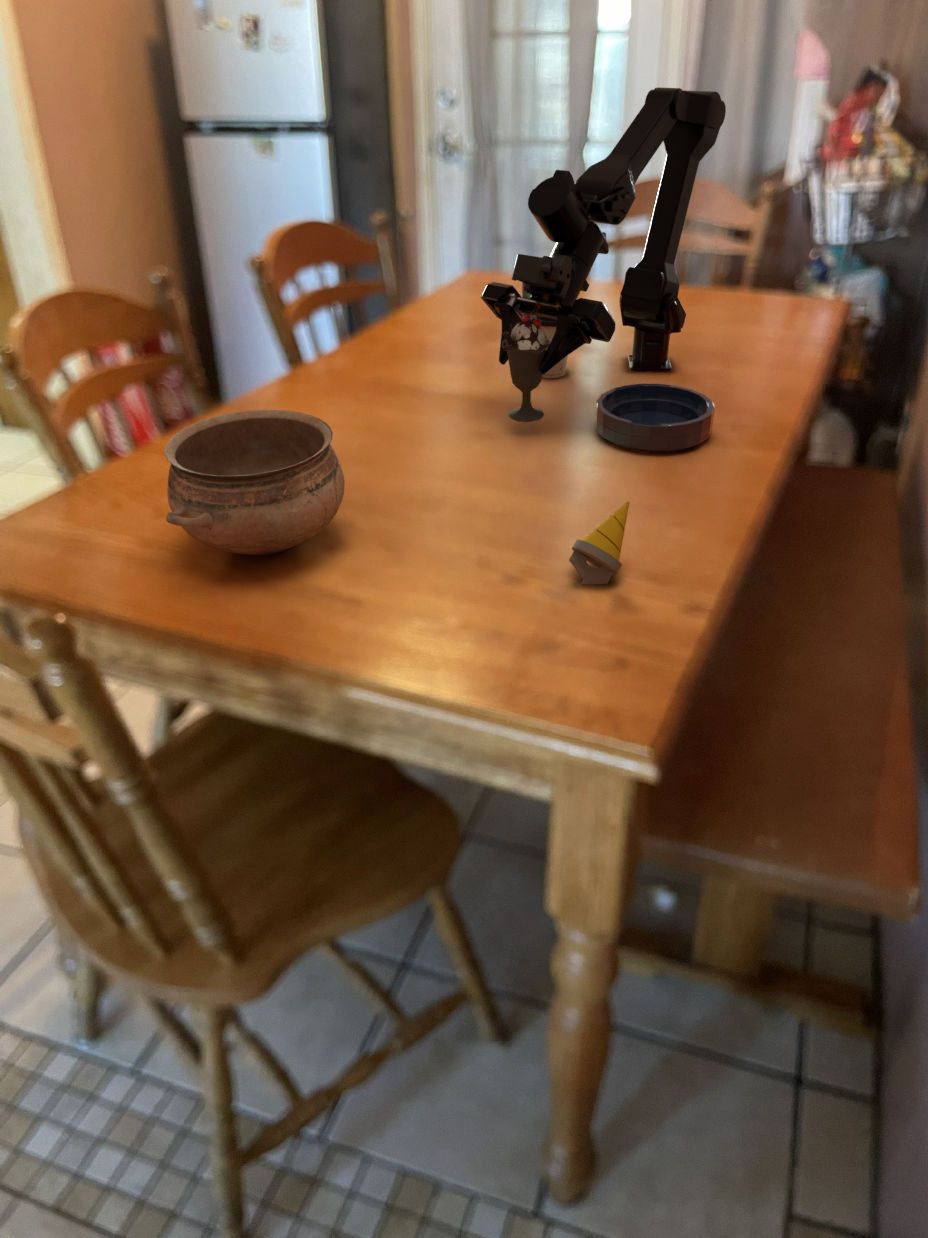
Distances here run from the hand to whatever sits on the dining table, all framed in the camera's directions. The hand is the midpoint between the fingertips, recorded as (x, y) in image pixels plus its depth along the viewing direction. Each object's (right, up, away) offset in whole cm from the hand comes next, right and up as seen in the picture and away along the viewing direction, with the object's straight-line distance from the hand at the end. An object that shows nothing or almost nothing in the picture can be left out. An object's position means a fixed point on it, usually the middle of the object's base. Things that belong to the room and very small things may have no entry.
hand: (520, 367), depth 122 cm
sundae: (+1, -5, +5) cm, 7 cm away
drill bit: (+7, -29, -25) cm, 39 cm away
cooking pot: (-30, -25, -18) cm, 43 cm away
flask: (+6, +23, +51) cm, 56 cm away
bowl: (+18, -8, +4) cm, 20 cm away
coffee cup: (+6, +6, +25) cm, 27 cm away
